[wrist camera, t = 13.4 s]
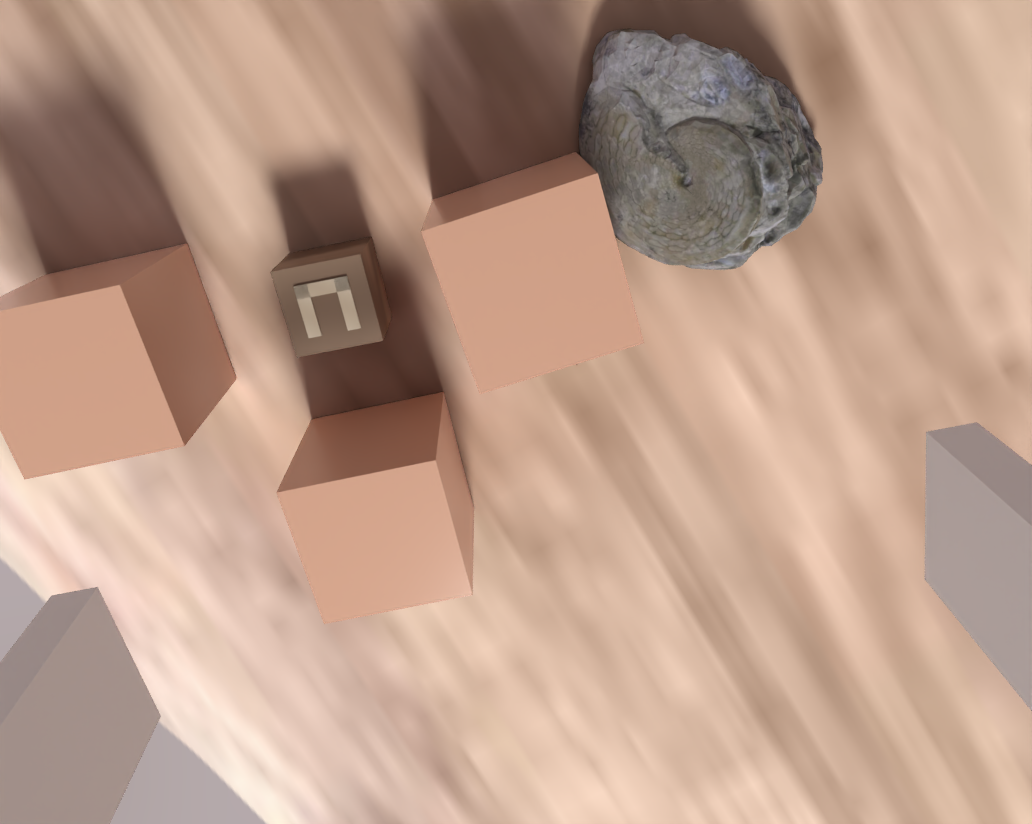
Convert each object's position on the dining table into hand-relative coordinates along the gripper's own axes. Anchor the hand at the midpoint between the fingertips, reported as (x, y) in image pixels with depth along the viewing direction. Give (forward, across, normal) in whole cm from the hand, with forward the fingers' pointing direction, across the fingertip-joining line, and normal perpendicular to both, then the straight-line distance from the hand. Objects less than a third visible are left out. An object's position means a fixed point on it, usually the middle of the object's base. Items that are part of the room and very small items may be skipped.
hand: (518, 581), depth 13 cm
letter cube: (+29, -8, -2) cm, 30 cm away
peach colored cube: (+29, +1, -2) cm, 29 cm away
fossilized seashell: (+29, +10, +1) cm, 31 cm away
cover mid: (+28, -8, -12) cm, 32 cm away
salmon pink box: (+29, -18, -2) cm, 34 cm away
